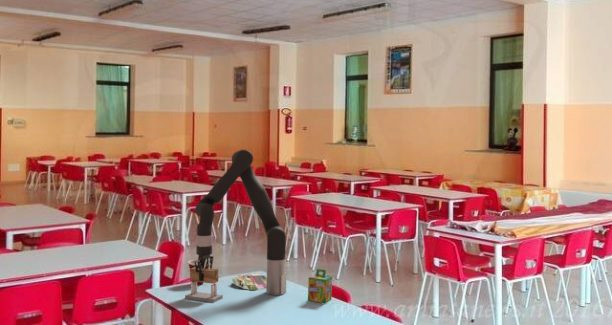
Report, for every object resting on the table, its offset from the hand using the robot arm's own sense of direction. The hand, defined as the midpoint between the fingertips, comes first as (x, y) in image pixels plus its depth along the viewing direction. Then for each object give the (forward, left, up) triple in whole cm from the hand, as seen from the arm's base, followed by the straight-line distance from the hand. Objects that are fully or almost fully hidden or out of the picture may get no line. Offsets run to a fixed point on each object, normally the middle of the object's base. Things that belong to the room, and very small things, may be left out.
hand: (204, 279), depth 290 cm
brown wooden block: (0, 0, -1) cm, 1 cm away
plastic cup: (+17, -22, -9) cm, 29 cm away
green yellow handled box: (-52, -21, -10) cm, 57 cm away
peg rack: (0, 0, -9) cm, 9 cm away
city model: (-10, -33, -10) cm, 36 cm away
